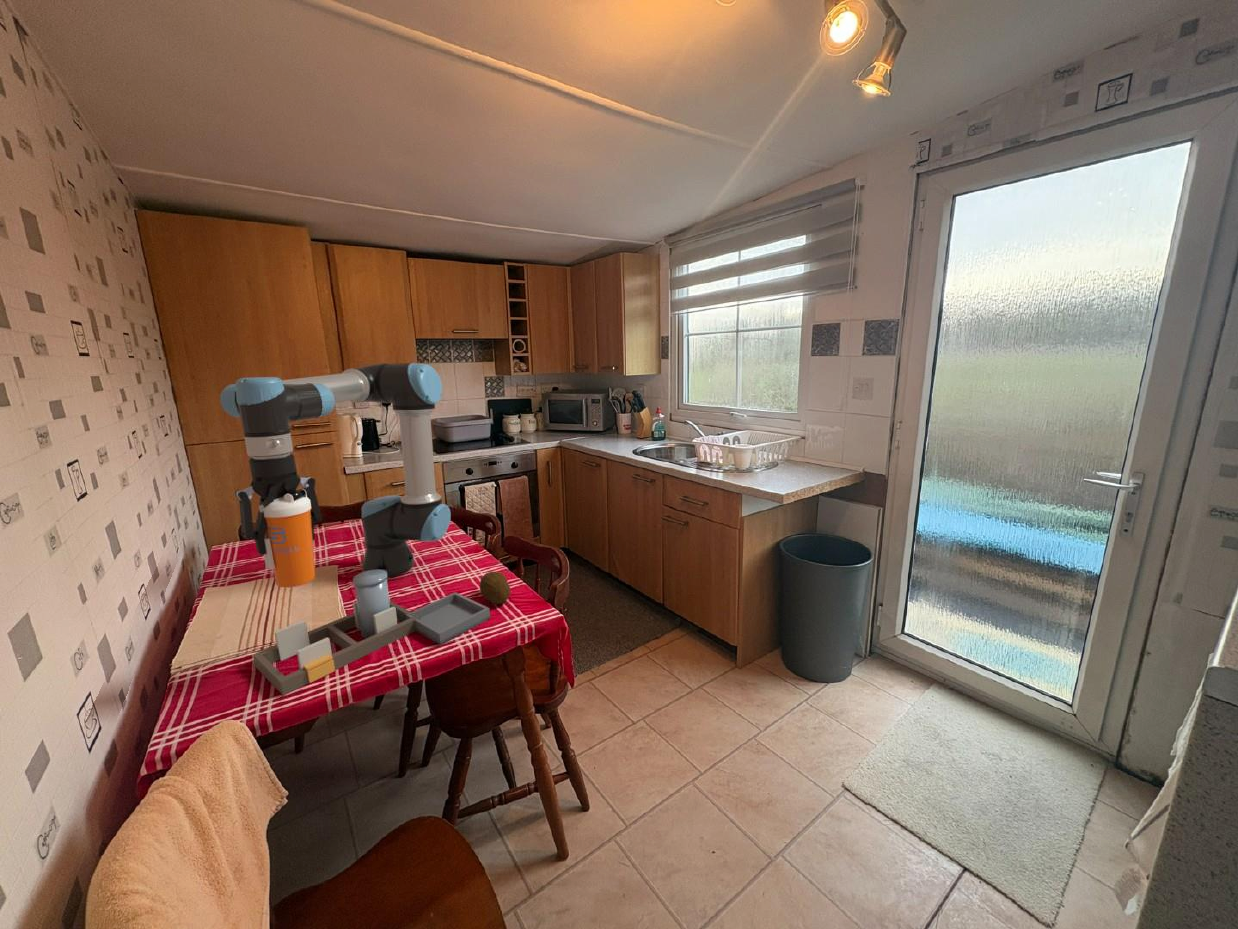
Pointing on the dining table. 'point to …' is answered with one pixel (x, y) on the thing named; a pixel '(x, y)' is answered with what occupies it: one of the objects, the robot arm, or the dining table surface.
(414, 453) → the robot arm
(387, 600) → the canister
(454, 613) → the tray
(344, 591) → the dining table surface
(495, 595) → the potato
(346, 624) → the rack
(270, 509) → the shaker bottle
